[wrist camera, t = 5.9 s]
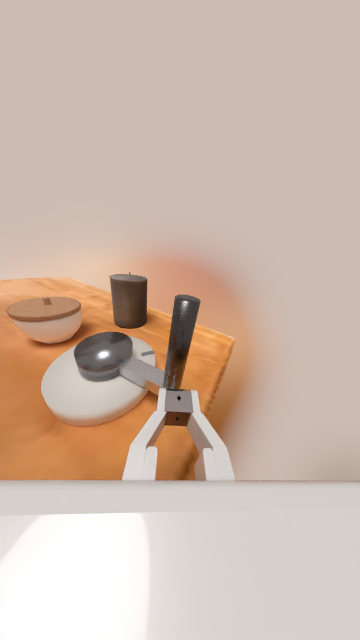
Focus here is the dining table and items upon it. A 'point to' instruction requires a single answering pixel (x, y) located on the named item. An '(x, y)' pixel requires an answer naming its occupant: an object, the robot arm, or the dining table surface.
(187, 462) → the dining table surface
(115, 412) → the light grey round disc
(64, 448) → the dining table surface
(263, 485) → the robot arm
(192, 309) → the saucepan with upright handle
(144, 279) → the pillar candle
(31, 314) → the lidded jar
